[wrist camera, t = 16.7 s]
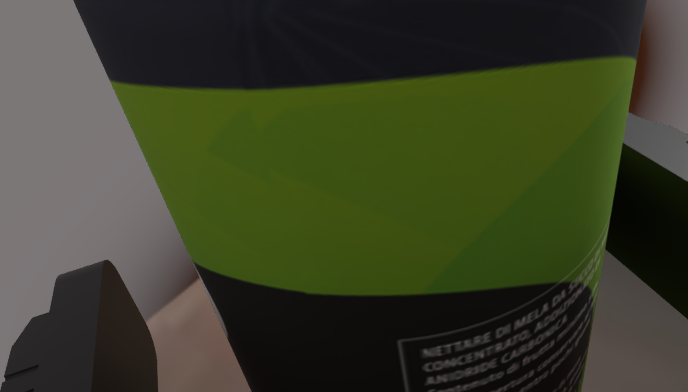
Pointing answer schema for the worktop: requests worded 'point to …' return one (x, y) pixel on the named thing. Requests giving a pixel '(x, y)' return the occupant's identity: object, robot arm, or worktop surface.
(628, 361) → the worktop surface
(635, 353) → the worktop surface
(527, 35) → the beverage can
